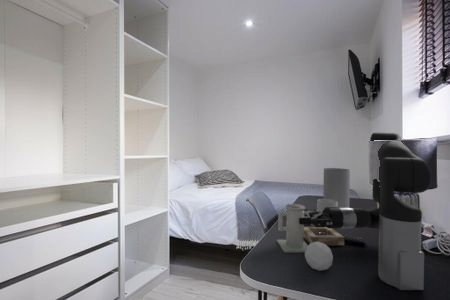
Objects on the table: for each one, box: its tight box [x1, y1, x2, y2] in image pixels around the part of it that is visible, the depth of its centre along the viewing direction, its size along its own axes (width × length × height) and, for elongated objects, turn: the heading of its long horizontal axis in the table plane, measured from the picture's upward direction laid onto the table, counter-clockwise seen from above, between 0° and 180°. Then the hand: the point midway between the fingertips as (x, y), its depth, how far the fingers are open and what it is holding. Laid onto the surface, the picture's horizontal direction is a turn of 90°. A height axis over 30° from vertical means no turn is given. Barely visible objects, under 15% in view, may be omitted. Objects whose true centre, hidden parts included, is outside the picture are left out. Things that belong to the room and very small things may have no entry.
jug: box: [277, 203, 306, 248], centre depth 88 cm, size 7×9×14 cm
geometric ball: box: [304, 242, 334, 272], centre depth 72 cm, size 8×8×8 cm
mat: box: [276, 239, 309, 254], centre depth 88 cm, size 10×10×1 cm
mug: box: [316, 198, 338, 212], centre depth 116 cm, size 12×9×11 cm
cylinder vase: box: [322, 167, 351, 208], centre depth 128 cm, size 12×12×25 cm
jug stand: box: [304, 226, 345, 246], centre depth 95 cm, size 12×12×3 cm
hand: (295, 217), depth 88 cm, fingers open, 8 cm apart
